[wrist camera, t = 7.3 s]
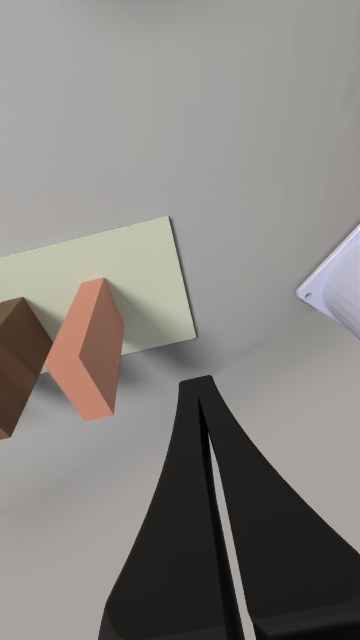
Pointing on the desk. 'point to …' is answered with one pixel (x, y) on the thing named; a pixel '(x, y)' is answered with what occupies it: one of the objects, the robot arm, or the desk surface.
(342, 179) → the desk surface
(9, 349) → the domino
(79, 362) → the domino
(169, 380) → the desk surface
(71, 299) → the runner mat
